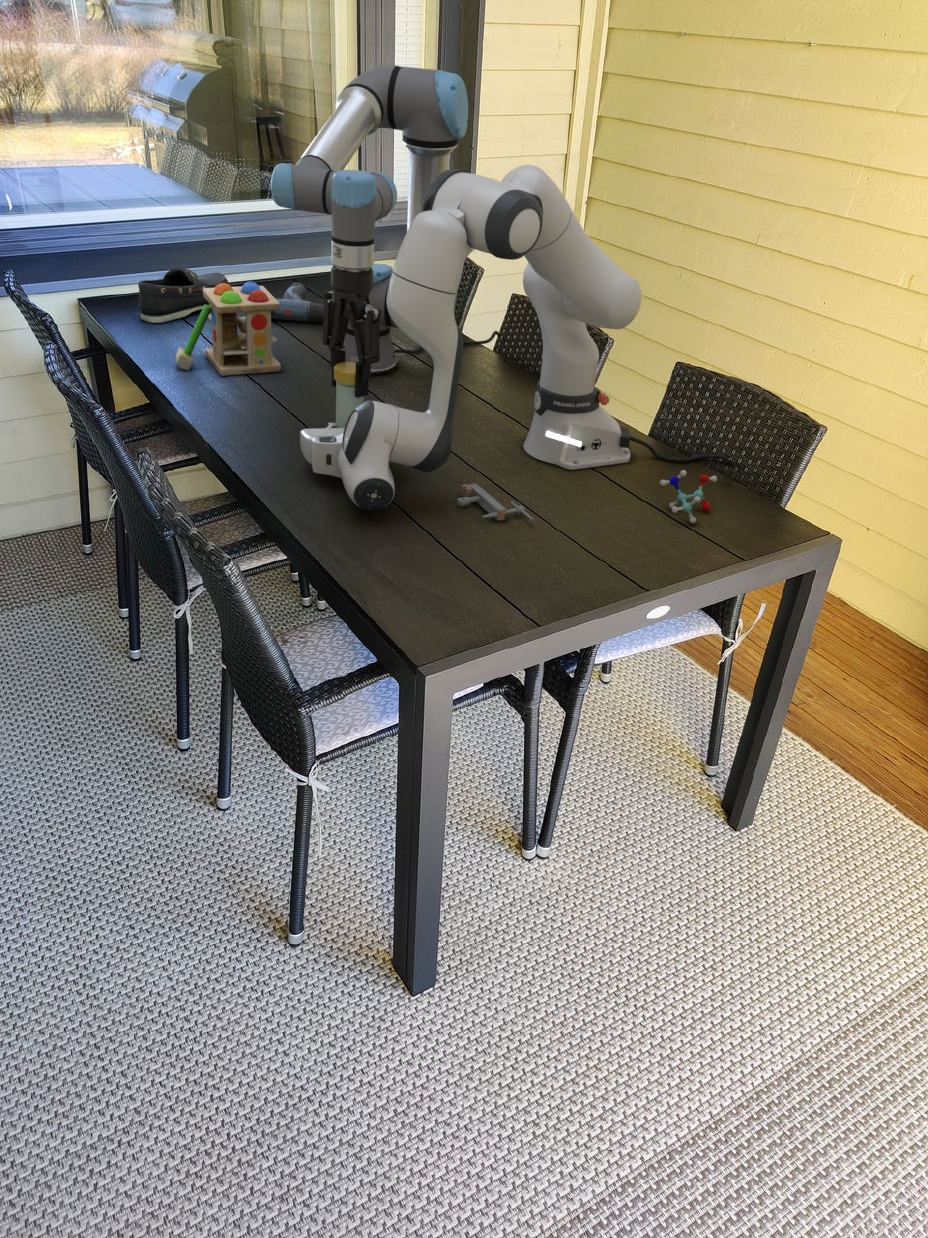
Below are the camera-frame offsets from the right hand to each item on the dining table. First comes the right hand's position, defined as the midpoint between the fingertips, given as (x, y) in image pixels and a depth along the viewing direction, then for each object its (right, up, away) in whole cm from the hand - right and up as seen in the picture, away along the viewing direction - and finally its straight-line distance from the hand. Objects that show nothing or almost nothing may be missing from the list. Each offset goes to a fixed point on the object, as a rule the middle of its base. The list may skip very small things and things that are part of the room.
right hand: (348, 425), depth 192 cm
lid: (+1, +9, -7) cm, 12 cm away
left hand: (+1, +6, -5) cm, 8 cm away
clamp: (+28, -18, -12) cm, 35 cm away
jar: (0, -6, +3) cm, 6 cm away
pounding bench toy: (-33, +22, +38) cm, 55 cm away
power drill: (-20, +45, +75) cm, 90 cm away
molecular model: (+64, -18, -5) cm, 67 cm away
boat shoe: (-52, +46, +70) cm, 98 cm away
